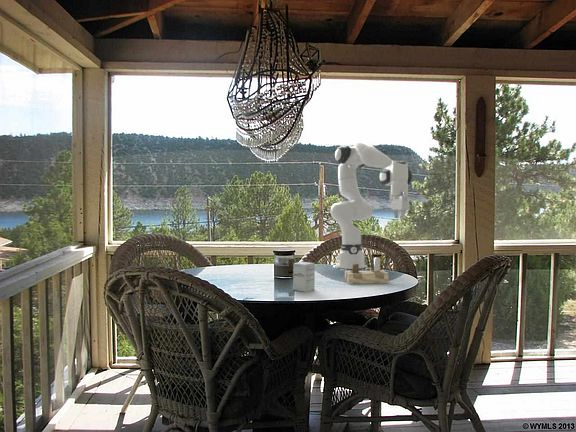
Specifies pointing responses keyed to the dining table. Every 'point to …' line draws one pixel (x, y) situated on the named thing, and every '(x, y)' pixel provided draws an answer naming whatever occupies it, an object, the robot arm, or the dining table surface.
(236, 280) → the dining table surface
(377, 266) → the steel peg
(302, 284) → the supplement box
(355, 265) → the walnut peg
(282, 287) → the dining table surface
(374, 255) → the condiment
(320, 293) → the dining table surface
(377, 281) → the hole block
